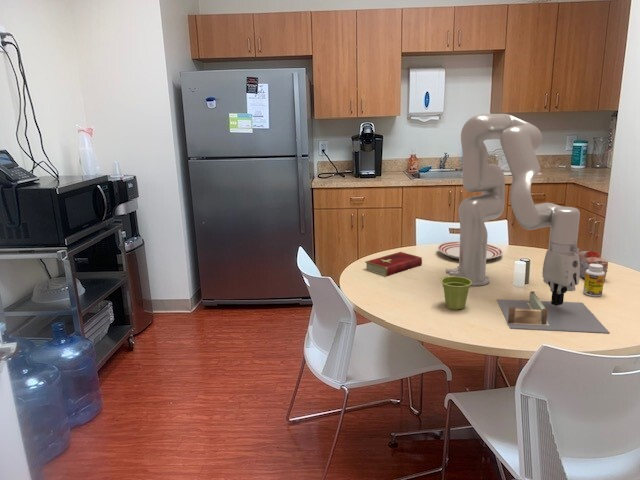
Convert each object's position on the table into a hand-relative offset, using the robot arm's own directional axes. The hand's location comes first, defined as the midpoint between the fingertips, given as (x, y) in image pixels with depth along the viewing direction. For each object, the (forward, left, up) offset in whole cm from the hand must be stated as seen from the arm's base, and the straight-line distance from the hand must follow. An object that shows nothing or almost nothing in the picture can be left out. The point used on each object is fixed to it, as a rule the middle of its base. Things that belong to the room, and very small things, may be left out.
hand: (556, 304), depth 147 cm
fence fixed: (-11, -12, -2) cm, 17 cm away
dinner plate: (-20, +59, -2) cm, 62 cm away
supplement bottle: (+15, +15, -2) cm, 21 cm away
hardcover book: (-52, +38, -2) cm, 64 cm away
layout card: (-4, -5, -2) cm, 7 cm away
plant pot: (-31, -1, -2) cm, 31 cm away
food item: (+20, +33, -2) cm, 39 cm away
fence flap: (-7, -4, -1) cm, 8 cm away
